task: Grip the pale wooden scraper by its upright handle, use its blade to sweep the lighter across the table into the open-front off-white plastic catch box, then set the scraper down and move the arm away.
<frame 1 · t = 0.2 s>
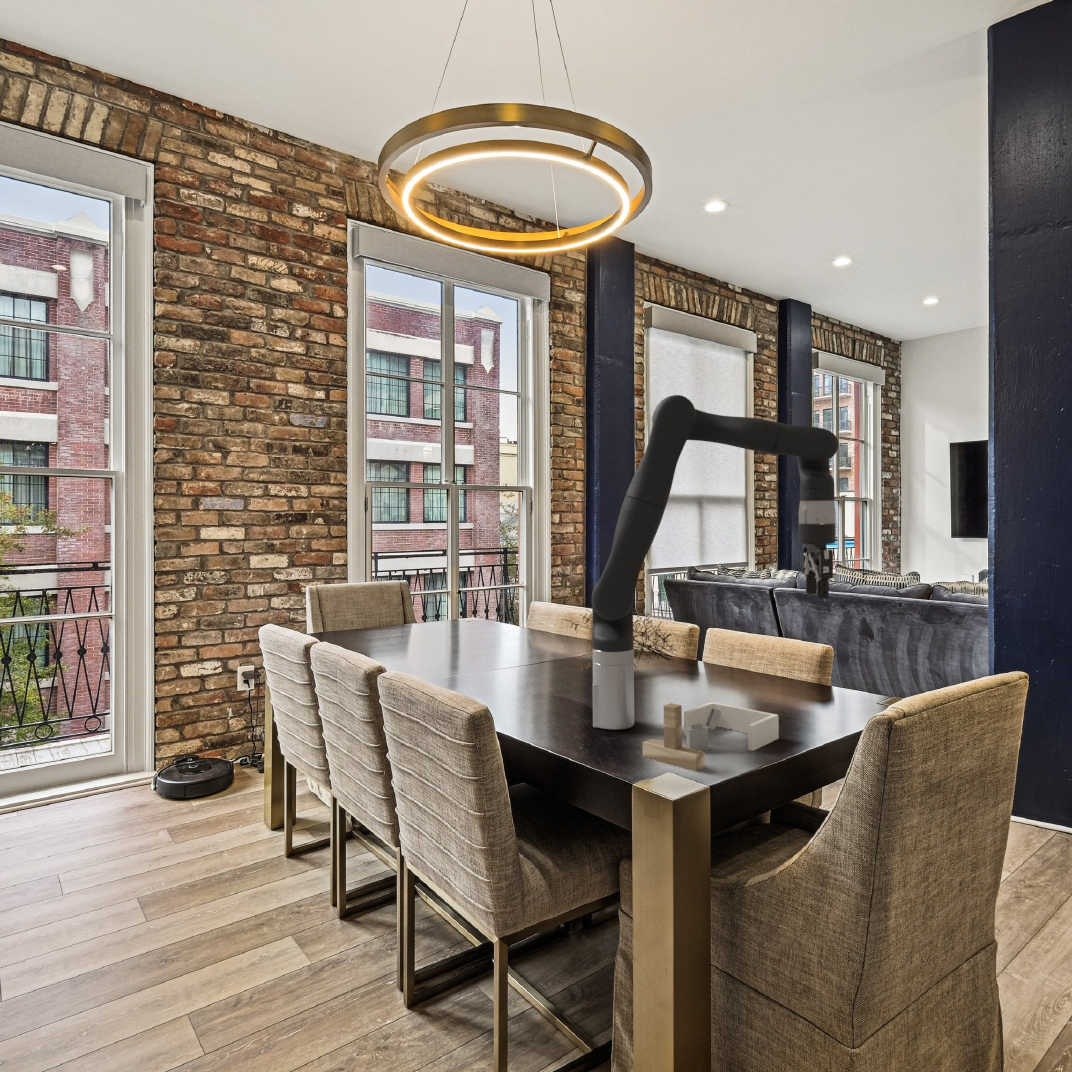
hand: (816, 596, 160), 29 cm above the table, tool pointing down, fingers open, 8 cm apart
scraper: (673, 762, 139), on the table
dried plant: (619, 678, 213), on the table
lighter: (703, 749, 147), on the table
catch box: (729, 737, 154), on the table
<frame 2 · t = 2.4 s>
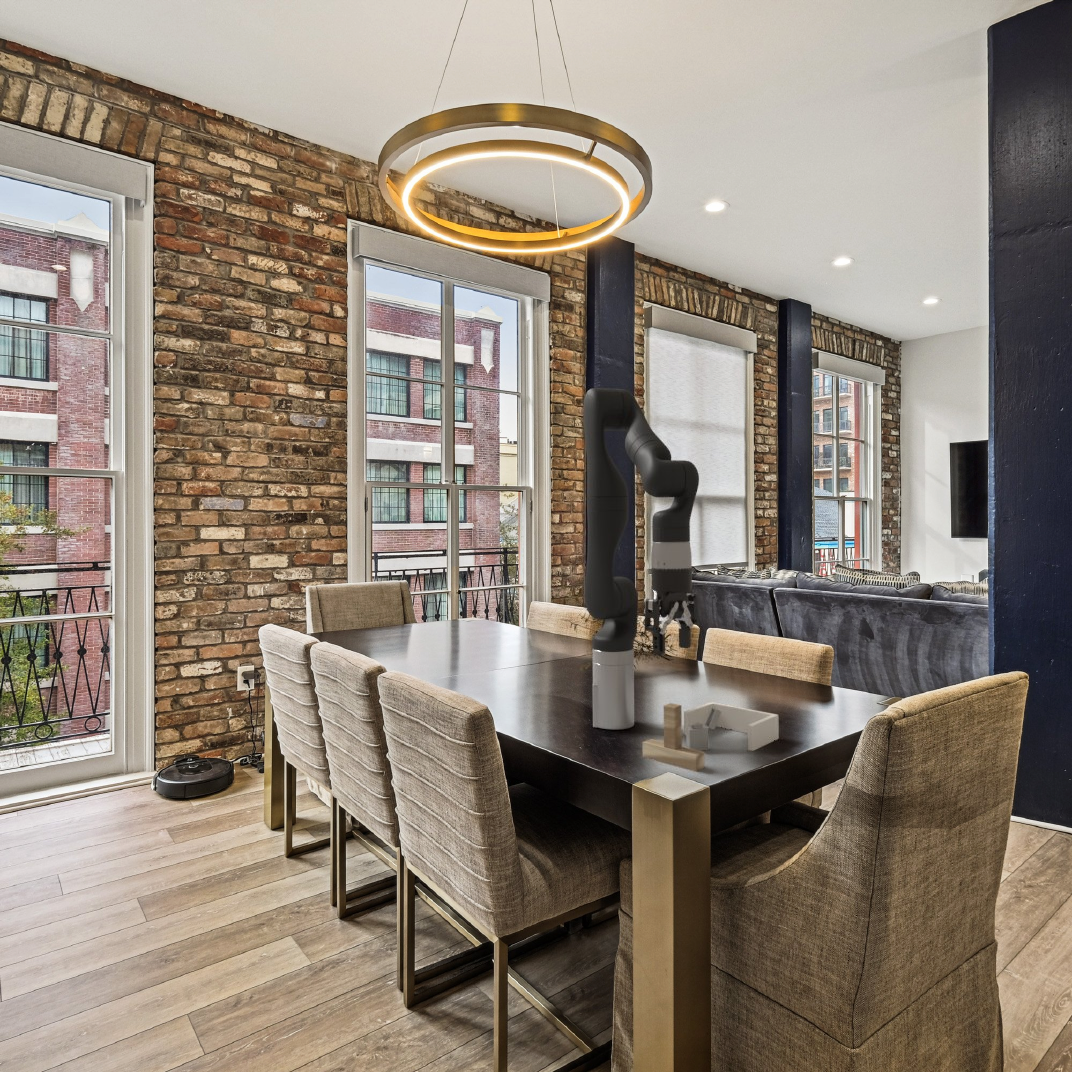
hand: (672, 650, 139), 21 cm above the table, tool pointing down, fingers open, 8 cm apart
nothing on the table moved.
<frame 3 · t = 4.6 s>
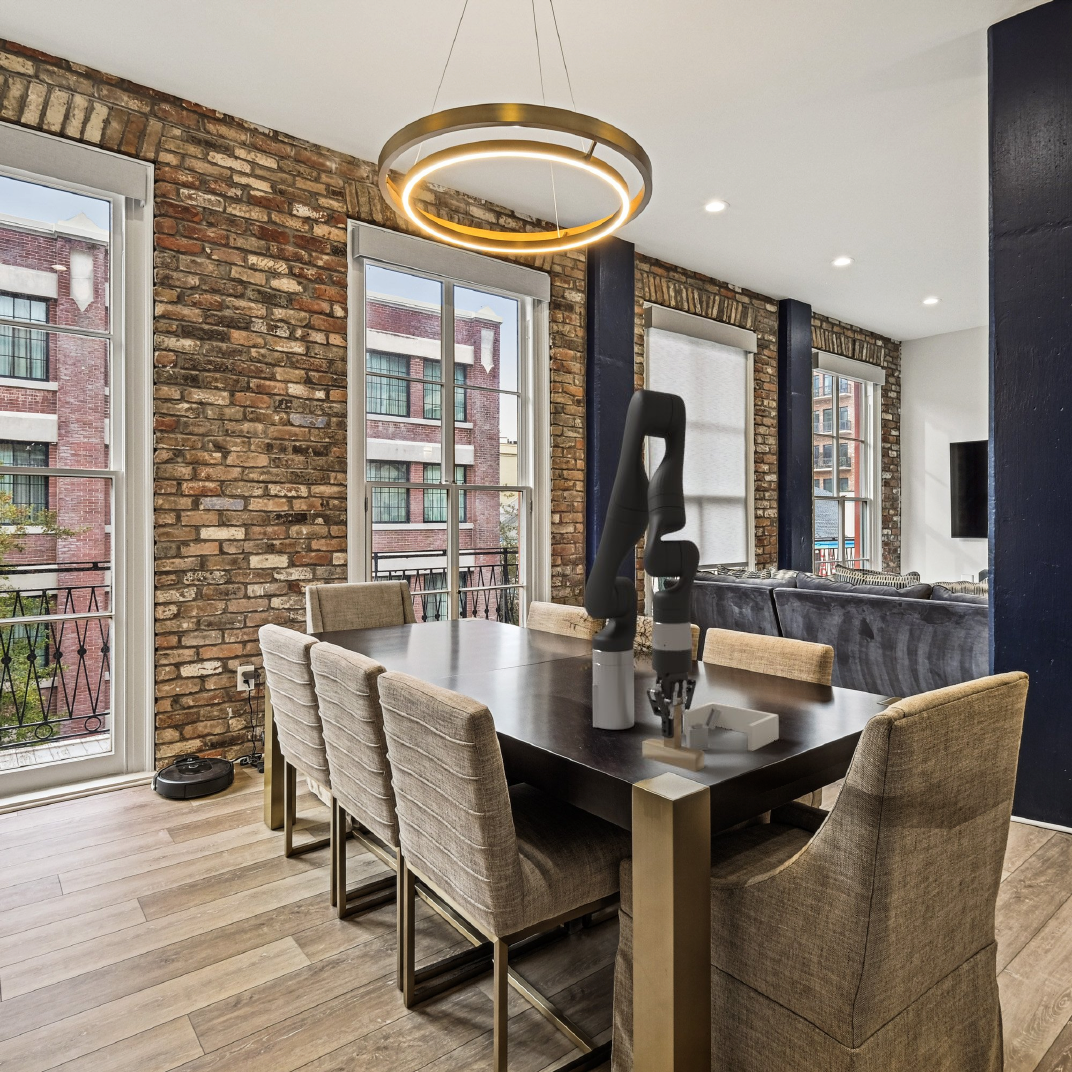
hand: (672, 735, 139), 5 cm above the table, tool pointing down, fingers closed on scraper, 2 cm apart
scraper: (672, 762, 139), on the table, touching gripper
everything else where it was.
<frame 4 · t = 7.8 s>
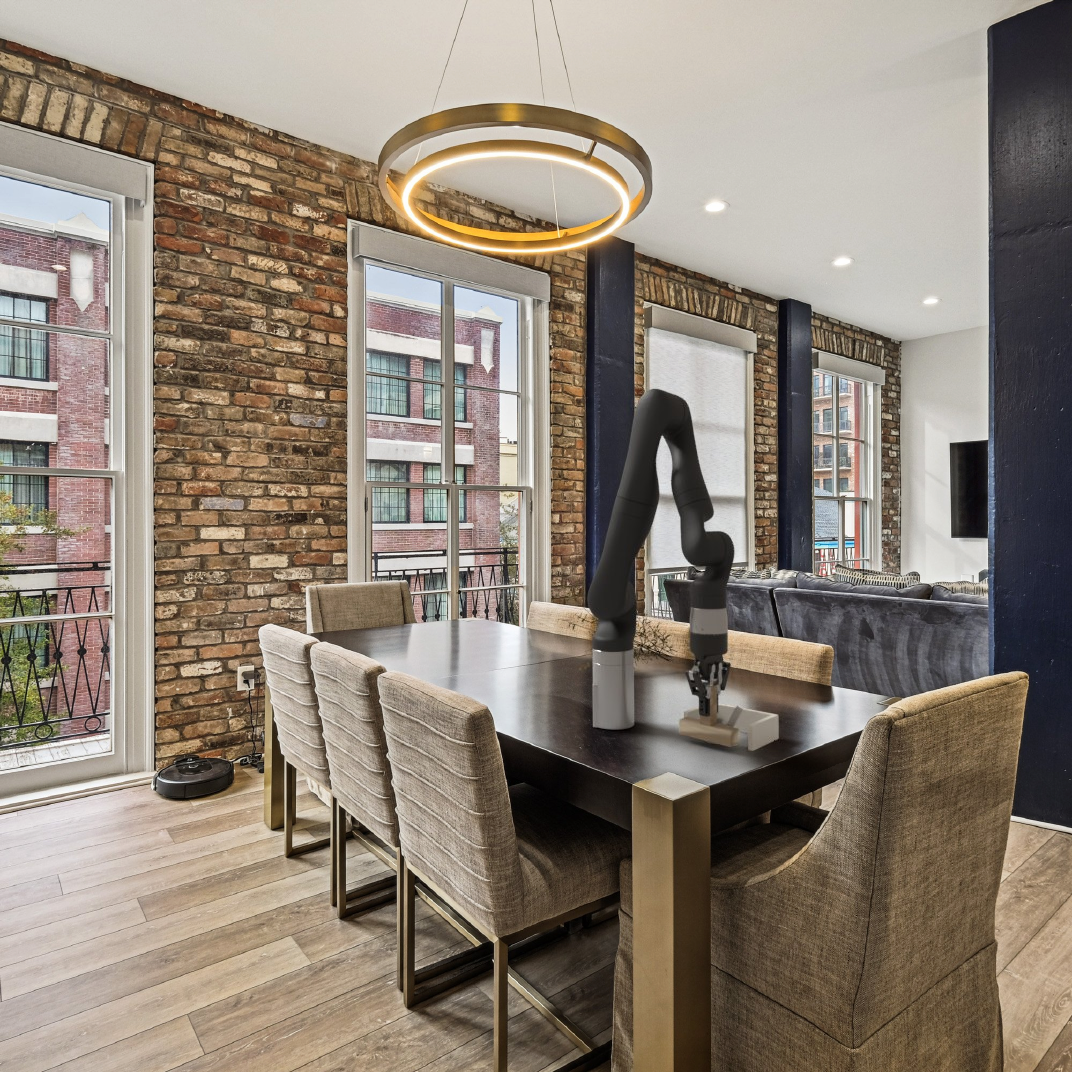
hand: (708, 713, 149), 7 cm above the table, tool pointing down, fingers closed on scraper, 2 cm apart
scraper: (708, 738, 149), point 1 cm above the table, touching gripper
lighter: (724, 745, 150), on the table
everything else where it was.
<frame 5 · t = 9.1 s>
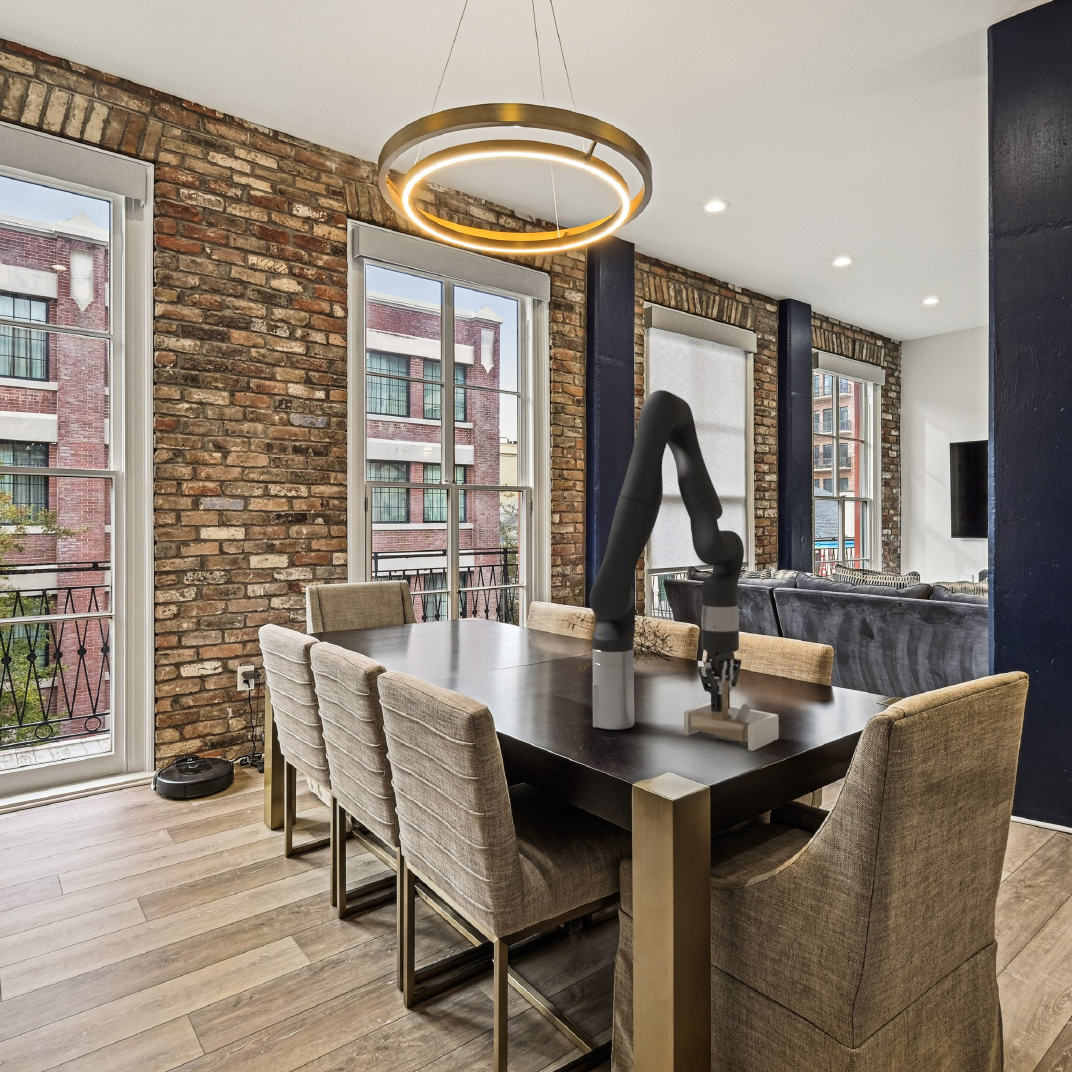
hand: (720, 709, 152), 7 cm above the table, tool pointing down, fingers closed on scraper, 2 cm apart
scraper: (719, 733, 152), point 2 cm above the table, touching gripper, lighter
lighter: (733, 741, 152), on the table, touching scraper
when the fingers open (6 cm above the table, at t = 10.5 s): scraper drops 3 cm, on the table.
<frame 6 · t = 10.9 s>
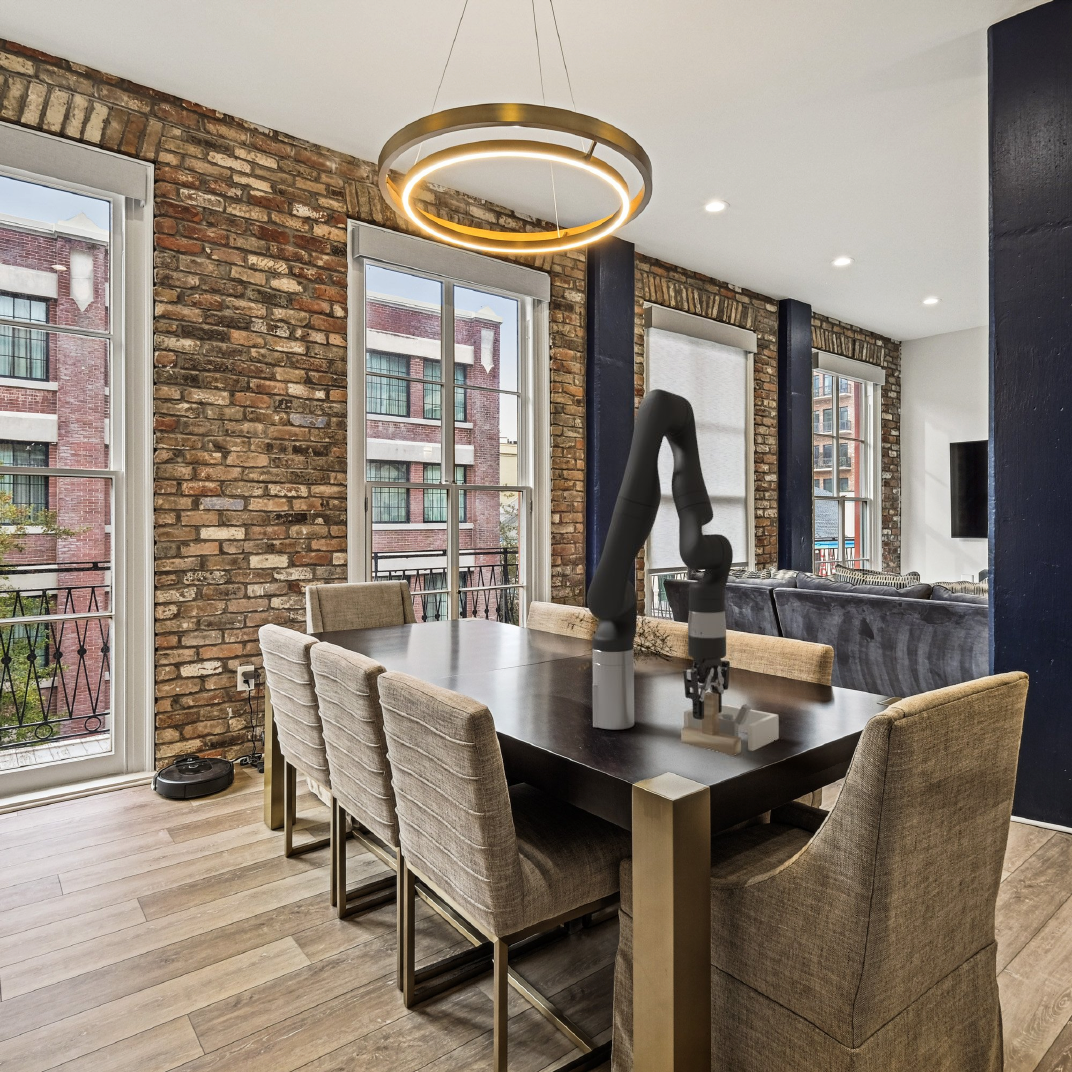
hand: (707, 715, 148), 6 cm above the table, tool pointing down, fingers open, 6 cm apart
scraper: (710, 747, 148), on the table
lighter: (734, 741, 152), on the table
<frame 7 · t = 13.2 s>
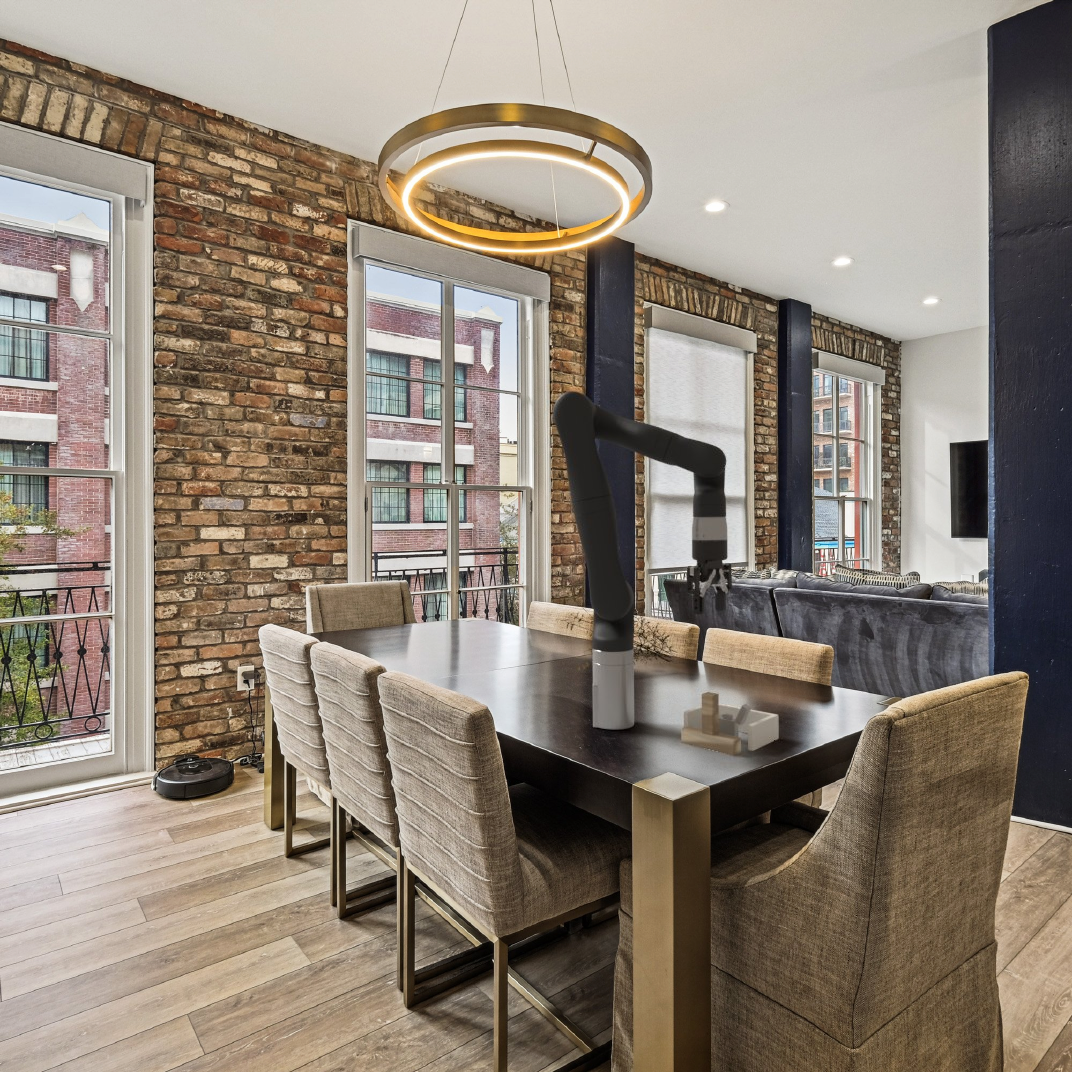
hand: (709, 612, 159), 26 cm above the table, tool pointing down, fingers open, 8 cm apart
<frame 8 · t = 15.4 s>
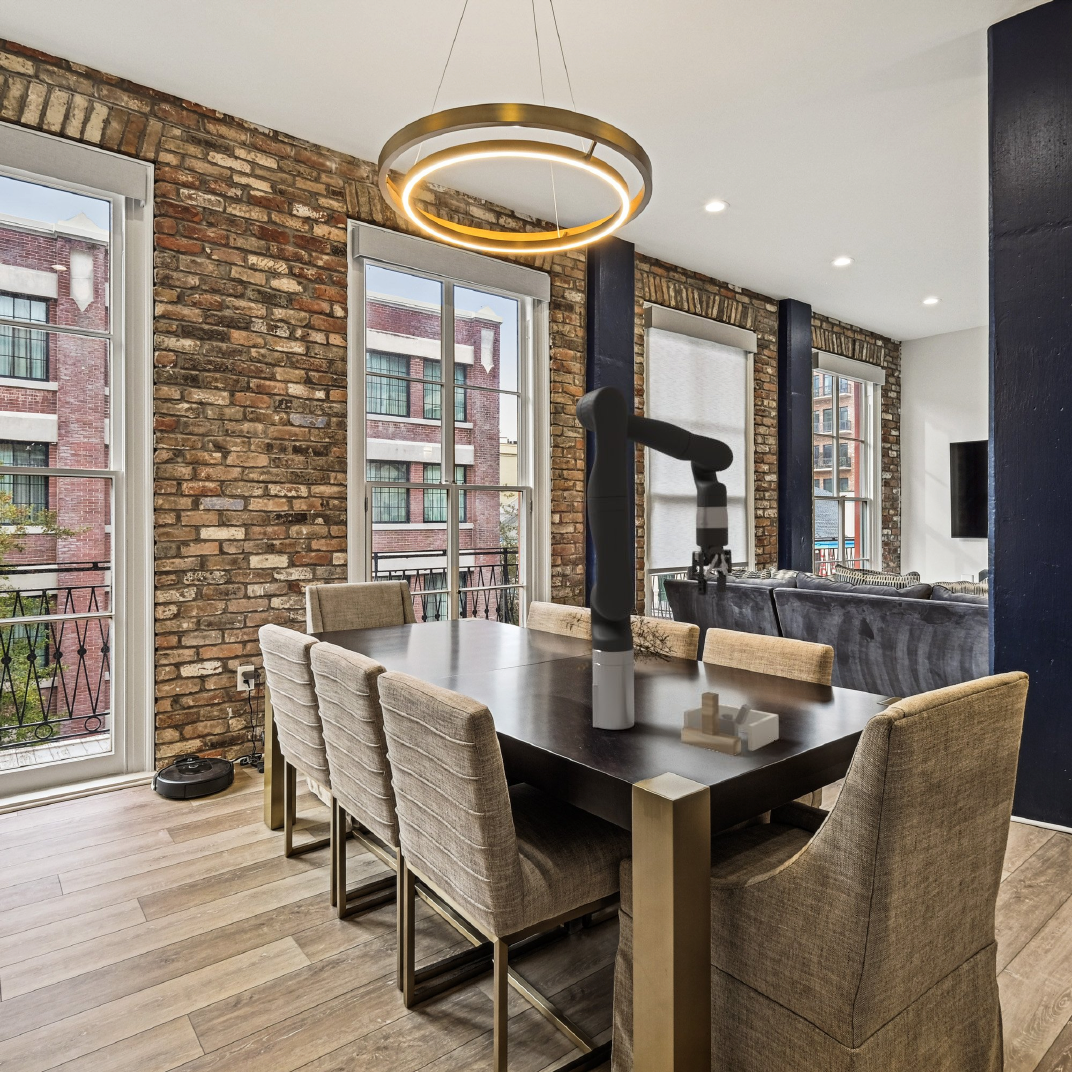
hand: (712, 593, 176), 28 cm above the table, tool pointing down, fingers open, 8 cm apart
at the end: lighter 2.3 cm from the catch box (horizontally); lighter on the table; the gripper is holding nothing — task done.
